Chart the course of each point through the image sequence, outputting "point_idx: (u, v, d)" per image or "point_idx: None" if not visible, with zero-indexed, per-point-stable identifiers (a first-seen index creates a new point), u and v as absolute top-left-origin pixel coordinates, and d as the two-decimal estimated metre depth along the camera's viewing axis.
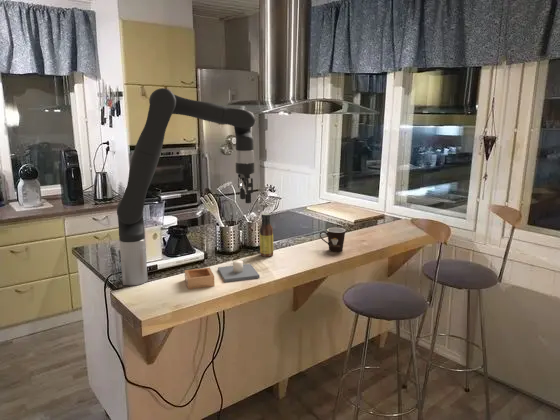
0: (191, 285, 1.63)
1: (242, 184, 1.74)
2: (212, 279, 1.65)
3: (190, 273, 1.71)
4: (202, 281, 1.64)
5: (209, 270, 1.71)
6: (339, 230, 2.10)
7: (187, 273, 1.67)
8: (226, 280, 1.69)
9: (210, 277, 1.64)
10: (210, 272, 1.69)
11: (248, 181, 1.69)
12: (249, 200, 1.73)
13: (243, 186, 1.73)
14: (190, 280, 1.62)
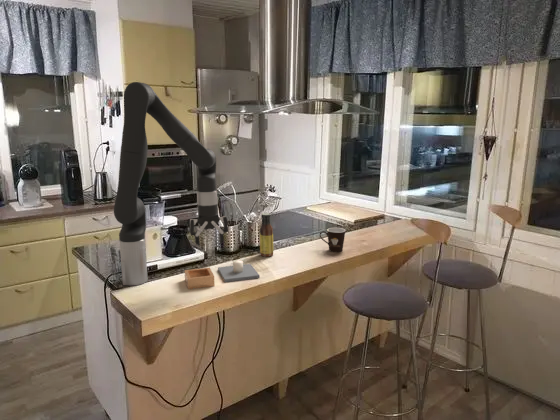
0: (191, 285, 1.63)
1: (215, 226, 1.64)
2: (212, 279, 1.65)
3: (190, 273, 1.71)
4: (202, 281, 1.64)
5: (209, 270, 1.71)
6: (339, 230, 2.10)
7: (187, 273, 1.67)
8: (226, 280, 1.69)
9: (210, 277, 1.64)
10: (210, 272, 1.69)
11: None
12: (222, 239, 1.68)
13: (218, 227, 1.65)
14: (190, 280, 1.62)
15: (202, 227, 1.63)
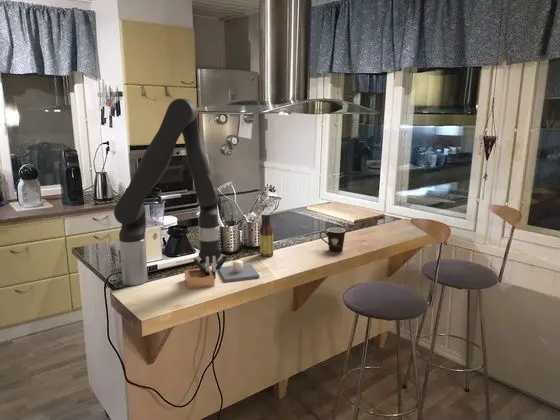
0: (191, 285, 1.63)
1: (213, 261, 1.67)
2: (212, 279, 1.65)
3: (190, 273, 1.71)
4: (202, 281, 1.64)
5: (209, 270, 1.71)
6: (339, 230, 2.10)
7: (187, 273, 1.67)
8: (226, 280, 1.69)
9: (210, 277, 1.64)
10: (210, 272, 1.69)
11: None
12: None
13: (215, 264, 1.67)
14: (190, 280, 1.62)
15: (207, 262, 1.66)
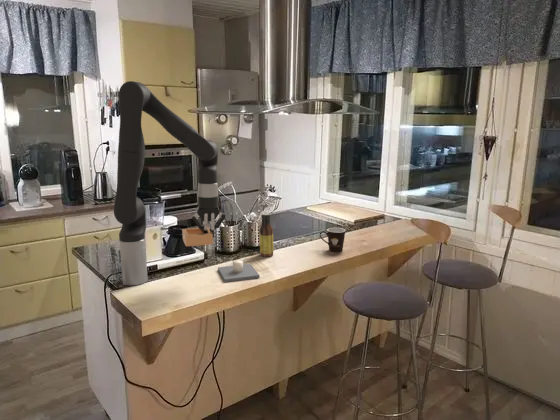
0: (189, 242, 1.59)
1: (211, 219, 1.63)
2: (210, 237, 1.61)
3: (188, 232, 1.67)
4: (200, 238, 1.60)
5: (207, 229, 1.67)
6: (339, 230, 2.10)
7: (185, 231, 1.64)
8: (226, 280, 1.69)
9: (208, 235, 1.61)
10: (208, 231, 1.65)
11: None
12: (213, 235, 1.67)
13: None
14: (188, 237, 1.58)
15: (205, 220, 1.63)
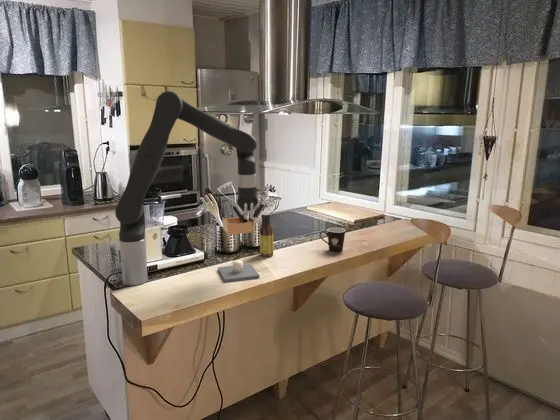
0: (231, 230, 1.68)
1: (251, 208, 1.72)
2: (250, 225, 1.70)
3: (228, 221, 1.76)
4: (241, 227, 1.69)
5: None
6: (339, 230, 2.10)
7: (226, 220, 1.73)
8: (226, 280, 1.69)
9: (249, 223, 1.69)
10: (248, 219, 1.74)
11: None
12: None
13: None
14: (230, 225, 1.67)
15: (245, 209, 1.71)
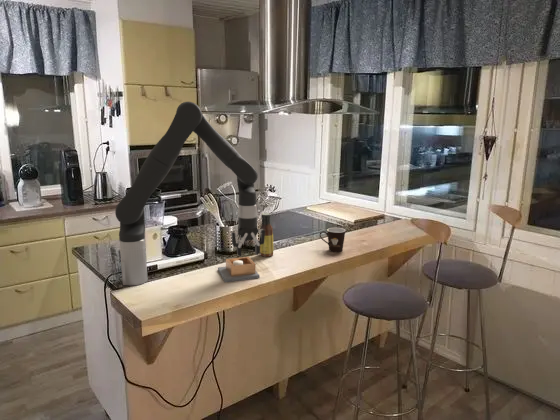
0: (234, 272, 1.72)
1: (253, 237, 1.75)
2: (253, 267, 1.74)
3: (231, 262, 1.80)
4: (244, 269, 1.73)
5: (249, 259, 1.80)
6: (339, 230, 2.10)
7: (229, 261, 1.77)
8: (226, 280, 1.69)
9: (252, 265, 1.74)
10: (251, 260, 1.78)
11: None
12: (258, 250, 1.79)
13: (256, 239, 1.76)
14: (233, 268, 1.72)
15: (243, 239, 1.74)
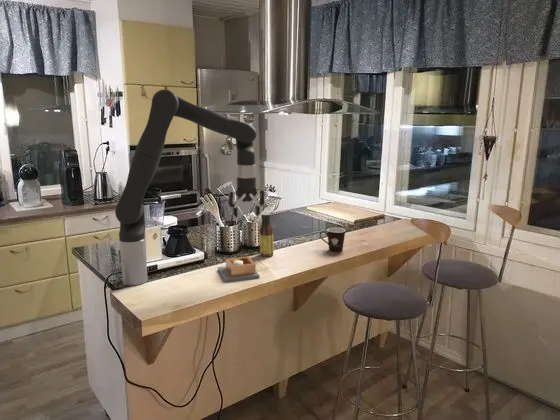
0: (234, 272, 1.72)
1: (252, 198, 1.72)
2: (253, 267, 1.74)
3: (231, 262, 1.80)
4: (244, 269, 1.73)
5: (249, 259, 1.80)
6: (339, 230, 2.10)
7: (229, 261, 1.77)
8: (226, 280, 1.69)
9: (252, 265, 1.74)
10: (251, 260, 1.78)
11: None
12: None
13: None
14: (233, 268, 1.72)
15: (241, 199, 1.70)
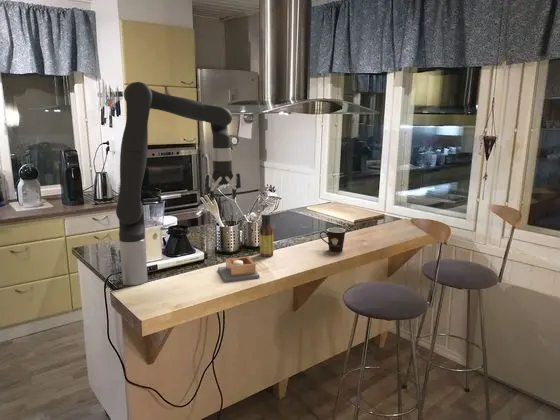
0: (234, 272, 1.72)
1: (228, 181, 1.74)
2: (253, 267, 1.74)
3: (231, 262, 1.80)
4: (244, 269, 1.73)
5: (249, 259, 1.80)
6: (339, 230, 2.10)
7: (229, 261, 1.77)
8: (226, 280, 1.69)
9: (252, 265, 1.74)
10: (251, 260, 1.78)
11: None
12: (235, 195, 1.78)
13: (232, 183, 1.75)
14: (233, 268, 1.72)
15: (217, 182, 1.73)
